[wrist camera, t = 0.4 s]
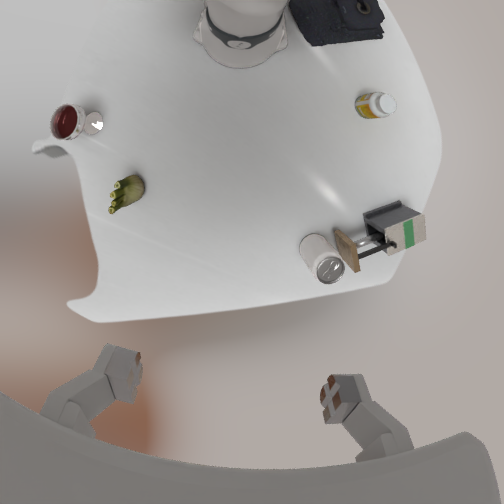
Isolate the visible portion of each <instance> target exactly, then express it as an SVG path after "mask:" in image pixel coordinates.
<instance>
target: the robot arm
mask: <svg viewBox="0 0 504 504" xmlns="http://www.w3.org/2000/svg"><path fill="white" fill-rule="evenodd" d="M287 2H288V0H205V3H204V6H206V8H205V10H204V11H202V13H201V18H200V20H199V22H198V24H197V26H196V29H195V31H194V33H193V39H194V40H195V41H197V42H198V43H200V44H201V45H203V46H204V48H205V49H206V51H207V52H208V54H209V55H210V56H211V57H212V58H213V59H214V60H215V61H217V62H218V63H220V64H222V65H225V66H228V67H232V68H249V67H253V66H256V65H258V64H260V63H262V62H264V61H265V60H267V59H268V58H269V57H270V56H271V55H272V54H273V53H275V52H277V51H280V50H283V49H285V48H286V47H287V44H288V41H287V33H286V26H285V18H284V11H283V10H284V8H285V6H286V4H287ZM199 31H200V32H199ZM282 39H283V40H282ZM140 359H141V355H140V352H137V351H133V350H129V349H126V348H122V347H119V346H115V345H111V344H108V343H107V344H106V345H105V346H104V348H103V350H102V352H101V354H100V356H99V357H98V360H97V361H96V363H95V366H94V368H93V370H88V371H86V372H84V373H82V374H81V375H79V376H77V377H76V378H74V379H72V380H70V381H69V382H67V383H65V384H63V385H62V386H60V387H58V388H56V389H55V390H53V391H51V392H50V394H49V396H48V397H47V400H46V402H45V403H44V406H43V407H42V410H41V412H40V414H38V413H36V412H34V411H32V410H30V409H29V408H27V407H25V406H23V405H22V404H20V403H18V402H16V401H15V400H13V399H11V398H10V397H8V396H7V395H5V394H3V393H2V392H0V504H501V500H500V494H499V489H498V485H497V480H496V476H495V472H494V469H493V466H492V462H491V459H490V456H489V454H488V451H487V449H486V447H485V445H484V444H483V443H482V442H481V441H480V440H479V439H477V438H476V437H474V436H473V435H472V434H470V433H468V432H461V433H459V434H456V435H454V436H451V437H449V438H446V439H443V440H441V441H438V442H435V443H432V444H429V445H426V446H423V447H420V448H416V449H414V446H413V444H412V441H411V438H410V435H409V432H408V430H407V428H406V427H405V426H404V425H402V424H401V423H400V422H399V421H397V420H396V419H395V418H394V417H393V416H392V415H391V414H389V413H388V412H387V411H386V410H385V409H383V408H382V407H381V406H380V405H379V404H378V403H376V402H375V401H372V399H371V396H370V394H369V391H368V388H367V385H366V383H365V380H364V377H363V375H362V374H337V375H330V376H329V377H328V379H327V381H328V383H327V384H325V385H324V386H323V387H322V389H321V393H320V401H321V404H322V406H323V407H324V408H325V409H324V411H323V416H324V420H325V424H336V423H342V425H343V426H344V427H345V429H346V430H347V431H348V432H349V433H350V434H351V436H352V437H353V438H354V439H355V440H356V441H357V443H358V444H359V445H360V446H361V447H362V448H363V451H362V452H361V453H359V454H358V455H357V456H356V457H355V458H356V463H350V464H343V465H336V466H327V467H316V468H303V469H240V468H227V467H216V466H207V465H200V464H192V463H186V462H181V461H175V460H170V459H165V458H160V457H156V456H151V455H147V454H143V453H139V452H136V451H132V450H128V449H125V448H121V447H118V446H115V445H112V444H109V443H105V442H103V441H100V440H97V439H95V436H96V433H95V431H94V429H93V428H92V426H91V425H90V423H89V422H90V421H91V420H92V419H93V418H95V417H96V416H97V415H98V414H99V413H101V412H102V411H103V410H104V409H106V407H108V406H109V405H110V404H112V403H113V402H114V401H115V399H116V400H119V401H124V402H127V403H132V404H134V401H135V397H136V395H137V389H136V386H137V385H139V384H140V382H141V379H142V373H143V367H142V364H141V363H140Z"/></svg>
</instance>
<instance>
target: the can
mask: <svg viewBox="0 0 504 504" xmlns="http://www.w3.org/2000/svg"><path fill="white" fill-rule="evenodd" d="M300 254H301V256H302V258H303V259H304V261H305V263H306V264H307V266H308V267H309V269H310V271H311V272H312V274H313V275H314V277H315V278H316V279H317V280H319V281H320V282H322V283H324V284H332V283H335V282H337V281H338V280H339V279H340V278H341V277H342V276H343V274H344V270H345V266H344V263H343V259H342V257H341V256H340V255H339V253H338V252H337V251H336V250H335V249H334V248H333V247H332V246H331V245H330V244H329V242H328V241H327V240H326V239H325V238H324V237H322V236H321V235H318V234H311V235H308V236H307V237H305V238H304V239H303V240H302V242H301V244H300Z"/></svg>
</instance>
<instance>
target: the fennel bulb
mask: <svg viewBox="0 0 504 504" xmlns="http://www.w3.org/2000/svg"><path fill="white" fill-rule="evenodd" d="M114 187H115V188H118V189H117V190H115V191H113V192H111V194H110V197H112V198H114V200H113V201H112V203H111V204H112V206H110V207H109V210H108V211H109V213H110V214H113V213H115V212H116V211H117V210H118V209H120V208H121V207H126V206H128V205H130V204H132V203H134V202H135V201H137V200H139V199H140V198H141V197H142V195H143V193H144V185H143V182H142V180H141V179H140V178H139V177H138V176H137V175H131V176H128V177H126V178H125V179H123V180H120V181H117V182H116V183H115V185H114Z"/></svg>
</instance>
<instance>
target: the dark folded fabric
mask: <svg viewBox="0 0 504 504" xmlns="http://www.w3.org/2000/svg"><path fill="white" fill-rule="evenodd" d="M289 6H290V8H291V10H292V12H293V16H294V18H295V19H296V21H297V23H298V26H299V29H300V30H301V31H302V33H303V34H304V37H305V39H306V40H307V41H308V42H309V43H311V44H312V46H323V45H326V44H337V43H347V42H353V41H362V40H372V39H382V38H383V35H382V33H384V31H383V29H382V27H381V25H380V23H382V22H383V20H384V19H385V17H384V14H383V12H382V10H381V9H380V7H379V5H378V1H377V0H290V2H289Z"/></svg>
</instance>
